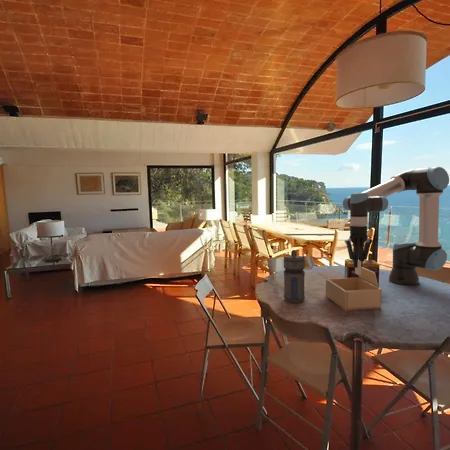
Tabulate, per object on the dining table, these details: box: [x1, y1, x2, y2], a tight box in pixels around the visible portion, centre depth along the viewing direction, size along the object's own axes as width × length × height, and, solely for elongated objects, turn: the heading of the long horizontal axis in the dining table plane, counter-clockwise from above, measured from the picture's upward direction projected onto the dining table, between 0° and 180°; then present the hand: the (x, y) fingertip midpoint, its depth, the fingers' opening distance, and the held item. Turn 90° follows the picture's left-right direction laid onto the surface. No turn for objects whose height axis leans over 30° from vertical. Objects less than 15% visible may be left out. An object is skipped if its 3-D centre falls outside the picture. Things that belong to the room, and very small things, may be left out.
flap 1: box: [317, 271, 343, 289], centre depth 143 cm, size 1×16×7 cm
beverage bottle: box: [283, 249, 306, 304], centre depth 149 cm, size 10×13×25 cm
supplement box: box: [344, 259, 380, 288], centre depth 162 cm, size 10×15×16 cm
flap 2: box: [359, 267, 378, 286], centre depth 145 cm, size 1×16×7 cm, turn 5°
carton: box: [325, 277, 383, 312], centre depth 145 cm, size 17×21×9 cm
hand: (358, 273), depth 144 cm, fingers closed
